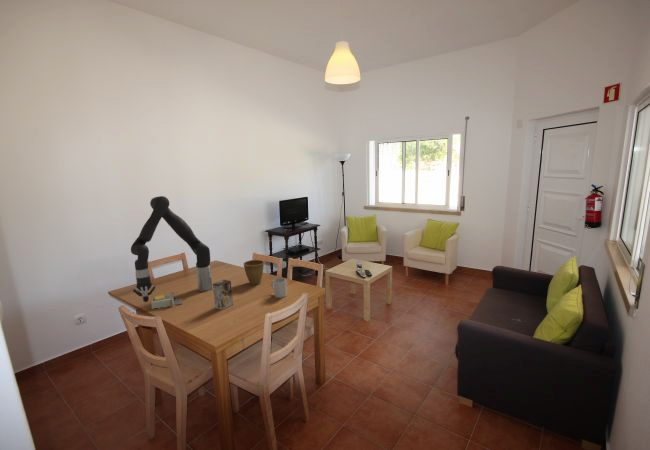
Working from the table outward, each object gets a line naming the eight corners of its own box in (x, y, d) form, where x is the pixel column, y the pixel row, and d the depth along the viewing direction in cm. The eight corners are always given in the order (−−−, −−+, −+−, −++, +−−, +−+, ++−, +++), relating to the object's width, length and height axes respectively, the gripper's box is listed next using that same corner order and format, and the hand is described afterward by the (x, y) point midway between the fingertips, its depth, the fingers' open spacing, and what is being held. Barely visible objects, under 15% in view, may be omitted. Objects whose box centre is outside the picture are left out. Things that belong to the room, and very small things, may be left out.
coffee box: (226, 302, 205) (224, 279, 201) (233, 304, 201) (231, 280, 198) (214, 308, 197) (212, 283, 194) (221, 310, 194) (219, 285, 190)
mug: (289, 294, 215) (288, 279, 213) (280, 298, 208) (280, 283, 206) (276, 290, 222) (275, 275, 220) (267, 294, 215) (267, 279, 213)
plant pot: (269, 281, 240) (268, 261, 236) (255, 288, 227) (253, 266, 224) (255, 278, 247) (253, 258, 244) (240, 284, 235) (239, 263, 232)
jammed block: (165, 301, 206) (164, 294, 205) (164, 304, 201) (163, 297, 200) (156, 303, 204) (155, 295, 203) (155, 306, 199) (154, 298, 198)
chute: (182, 298, 213) (181, 290, 212) (181, 305, 201) (180, 297, 200) (154, 302, 207) (153, 295, 206) (151, 310, 195) (150, 302, 194)
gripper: (155, 272, 202) (158, 297, 205) (131, 275, 197) (135, 301, 200) (154, 275, 195) (157, 302, 198) (129, 278, 190) (133, 305, 193)
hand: (146, 301), depth 199 cm, fingers closed
